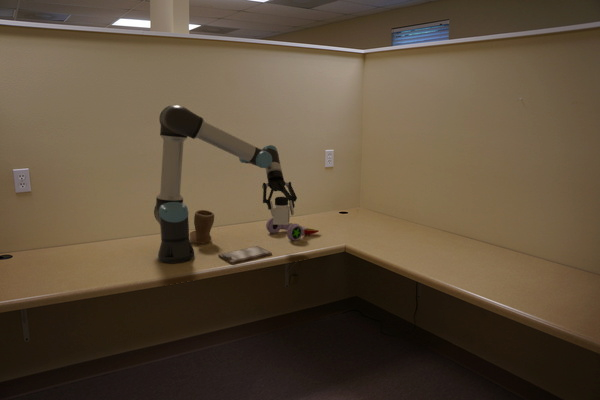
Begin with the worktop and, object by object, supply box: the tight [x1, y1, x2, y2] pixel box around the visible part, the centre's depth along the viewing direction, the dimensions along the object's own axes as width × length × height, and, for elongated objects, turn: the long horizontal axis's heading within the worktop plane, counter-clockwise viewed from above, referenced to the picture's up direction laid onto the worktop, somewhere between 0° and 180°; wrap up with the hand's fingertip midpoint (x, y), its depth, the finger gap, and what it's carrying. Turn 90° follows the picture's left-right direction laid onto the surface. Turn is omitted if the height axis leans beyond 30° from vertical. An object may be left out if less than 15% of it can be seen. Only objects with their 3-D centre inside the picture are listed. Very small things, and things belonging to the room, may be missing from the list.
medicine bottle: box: [272, 196, 290, 225], centre depth 205 cm, size 7×7×12 cm
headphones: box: [265, 217, 319, 242], centre depth 229 cm, size 20×10×20 cm
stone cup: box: [189, 209, 215, 244], centre depth 217 cm, size 15×12×15 cm
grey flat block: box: [217, 245, 273, 265], centre depth 197 cm, size 20×12×2 cm, turn 128°
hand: (283, 214), depth 202 cm, fingers closed on medicine bottle, 8 cm apart
